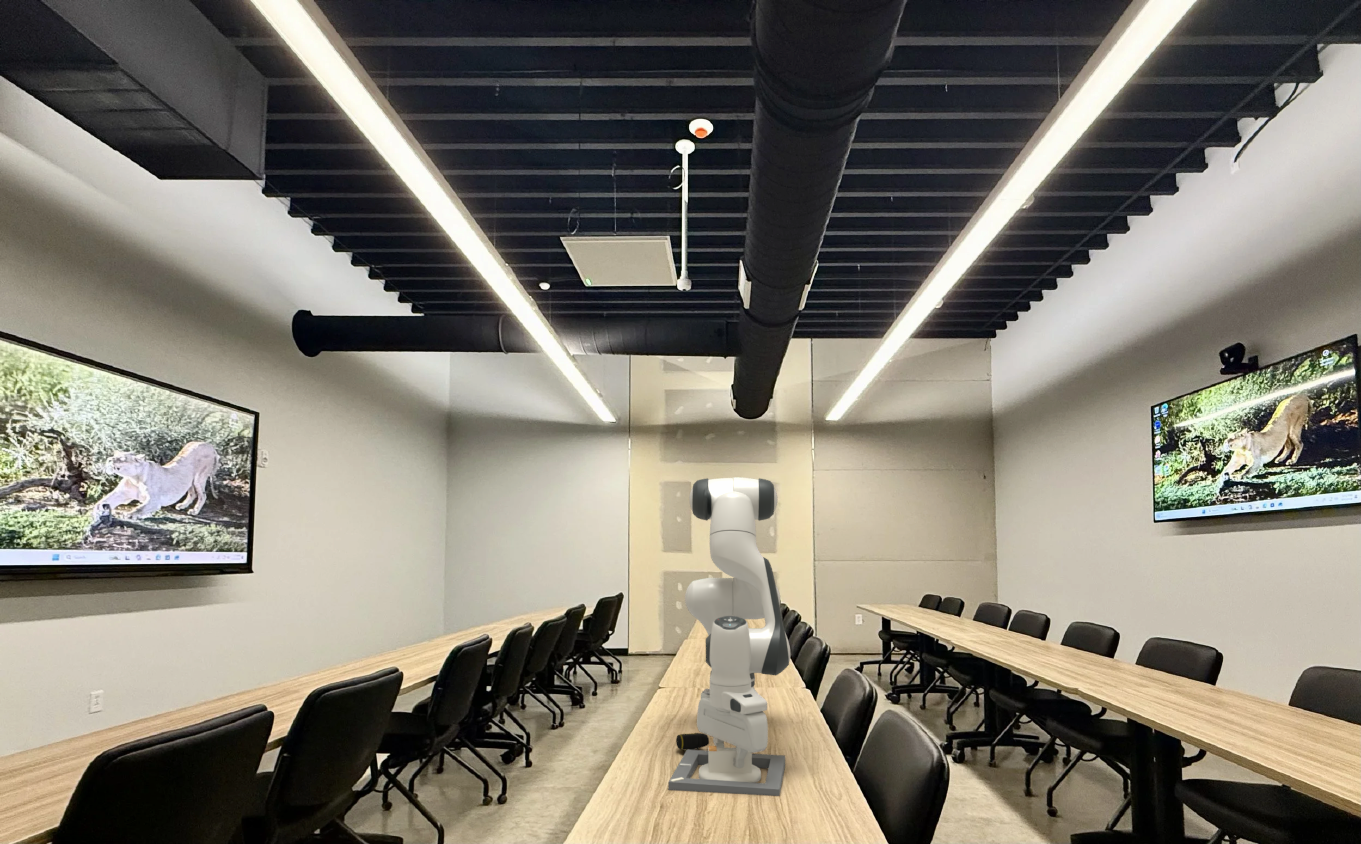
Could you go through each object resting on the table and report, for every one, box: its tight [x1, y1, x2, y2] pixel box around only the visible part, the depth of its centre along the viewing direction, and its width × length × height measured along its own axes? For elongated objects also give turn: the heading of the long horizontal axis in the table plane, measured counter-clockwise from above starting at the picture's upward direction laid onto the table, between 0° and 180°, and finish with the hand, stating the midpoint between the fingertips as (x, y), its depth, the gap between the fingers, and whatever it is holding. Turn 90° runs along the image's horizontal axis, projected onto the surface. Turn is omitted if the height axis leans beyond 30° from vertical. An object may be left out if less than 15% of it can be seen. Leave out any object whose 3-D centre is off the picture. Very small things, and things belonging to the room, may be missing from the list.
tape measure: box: [675, 732, 710, 752], centre depth 193 cm, size 7×7×4 cm
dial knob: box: [698, 745, 762, 783], centre depth 173 cm, size 13×13×6 cm
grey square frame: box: [667, 749, 786, 797], centre depth 173 cm, size 22×22×3 cm
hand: (730, 763), depth 173 cm, fingers closed on dial knob, 4 cm apart
